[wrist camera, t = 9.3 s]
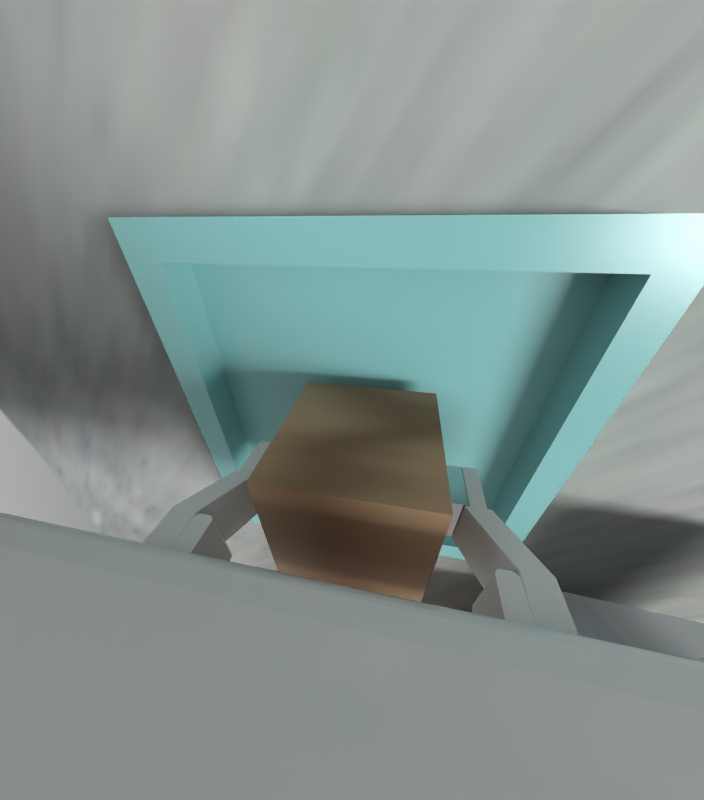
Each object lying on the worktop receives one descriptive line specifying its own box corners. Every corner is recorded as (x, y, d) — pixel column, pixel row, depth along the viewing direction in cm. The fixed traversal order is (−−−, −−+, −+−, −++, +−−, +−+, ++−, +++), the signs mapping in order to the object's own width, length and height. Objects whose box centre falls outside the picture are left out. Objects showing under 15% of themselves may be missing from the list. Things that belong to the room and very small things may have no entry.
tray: (664, 214, 7) (755, 212, 5) (493, 526, 17) (504, 567, 15) (167, 217, 10) (106, 216, 8) (256, 488, 19) (239, 519, 17)
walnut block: (436, 393, 10) (453, 515, 6) (418, 480, 13) (421, 602, 9) (308, 381, 11) (245, 482, 7) (318, 465, 14) (278, 572, 9)
